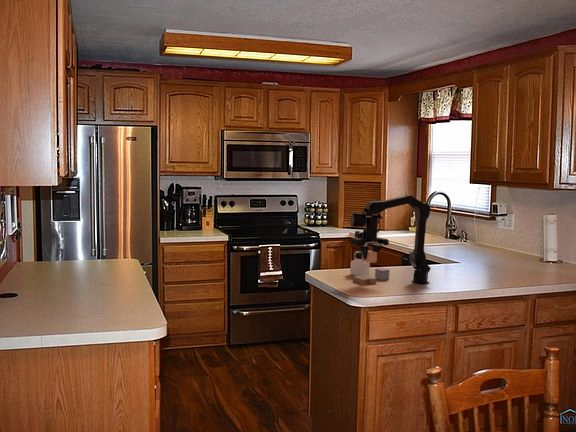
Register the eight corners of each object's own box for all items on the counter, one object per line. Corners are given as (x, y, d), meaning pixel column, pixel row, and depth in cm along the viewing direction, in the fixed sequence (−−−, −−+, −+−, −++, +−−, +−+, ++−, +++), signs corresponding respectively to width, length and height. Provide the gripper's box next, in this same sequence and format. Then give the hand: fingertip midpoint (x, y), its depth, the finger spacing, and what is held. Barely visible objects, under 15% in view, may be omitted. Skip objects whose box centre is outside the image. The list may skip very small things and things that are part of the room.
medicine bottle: (369, 275, 314) (370, 252, 313) (361, 276, 309) (362, 253, 308) (358, 272, 319) (359, 250, 318) (349, 274, 314) (351, 251, 313)
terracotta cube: (369, 260, 298) (370, 250, 297) (376, 262, 293) (377, 252, 293) (361, 260, 295) (362, 250, 295) (368, 262, 291) (369, 252, 290)
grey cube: (382, 277, 310) (383, 268, 309) (388, 279, 306) (389, 269, 305) (374, 278, 307) (375, 268, 307) (381, 280, 303) (381, 270, 302)
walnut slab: (366, 281, 301) (366, 275, 301) (376, 284, 295) (376, 278, 294) (353, 282, 297) (353, 276, 297) (362, 285, 291) (363, 279, 290)
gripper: (376, 225, 304) (373, 255, 306) (346, 225, 295) (343, 257, 296) (390, 228, 295) (388, 259, 296) (360, 228, 285) (357, 261, 287)
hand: (369, 259), depth 294 cm, fingers closed on terracotta cube, 5 cm apart
